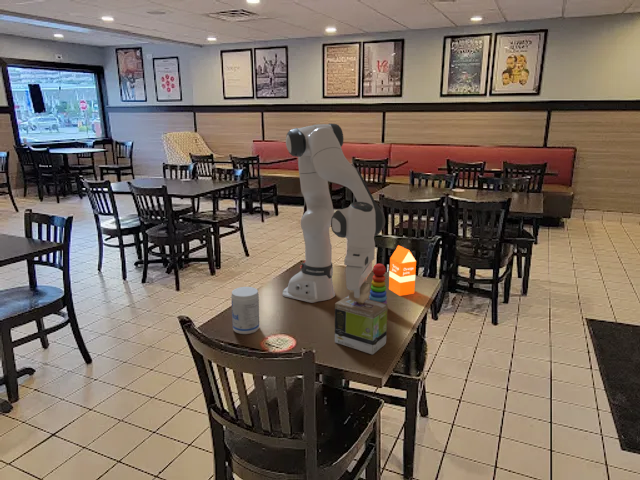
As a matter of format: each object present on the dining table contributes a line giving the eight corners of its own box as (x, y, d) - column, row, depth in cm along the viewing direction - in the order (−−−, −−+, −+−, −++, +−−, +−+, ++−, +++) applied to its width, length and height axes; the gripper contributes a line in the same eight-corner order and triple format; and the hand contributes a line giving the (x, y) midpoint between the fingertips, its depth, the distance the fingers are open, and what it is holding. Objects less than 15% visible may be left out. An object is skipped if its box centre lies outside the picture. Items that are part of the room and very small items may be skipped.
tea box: (387, 343, 154) (388, 303, 150) (372, 356, 147) (373, 313, 143) (349, 331, 163) (350, 293, 159) (333, 342, 155) (333, 302, 151)
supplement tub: (227, 328, 165) (225, 290, 161) (249, 320, 171) (247, 284, 167) (242, 337, 158) (241, 298, 154) (265, 329, 164) (263, 291, 161)
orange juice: (399, 296, 195) (401, 251, 189) (388, 289, 202) (390, 245, 197) (414, 293, 198) (417, 249, 192) (403, 286, 205) (405, 243, 200)
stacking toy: (388, 313, 178) (390, 267, 173) (367, 312, 178) (369, 267, 173) (386, 305, 185) (388, 261, 180) (366, 304, 186) (368, 260, 181)
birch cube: (348, 299, 149) (349, 285, 148) (354, 293, 154) (355, 280, 152) (362, 303, 147) (364, 289, 146) (368, 297, 152) (369, 283, 150)
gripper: (359, 243, 156) (358, 281, 160) (342, 261, 138) (341, 303, 142) (377, 245, 154) (376, 283, 158) (362, 263, 136) (361, 306, 140)
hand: (359, 293), depth 150 cm, fingers closed on birch cube, 5 cm apart
